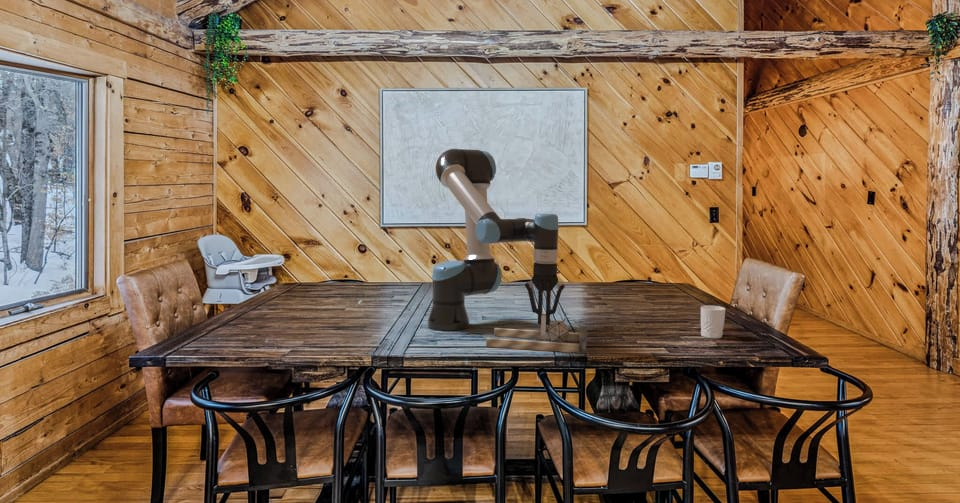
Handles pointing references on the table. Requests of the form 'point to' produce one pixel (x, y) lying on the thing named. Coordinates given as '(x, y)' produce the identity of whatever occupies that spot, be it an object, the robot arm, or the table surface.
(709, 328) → the white cup
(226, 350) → the table surface
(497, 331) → the guide channel
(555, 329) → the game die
